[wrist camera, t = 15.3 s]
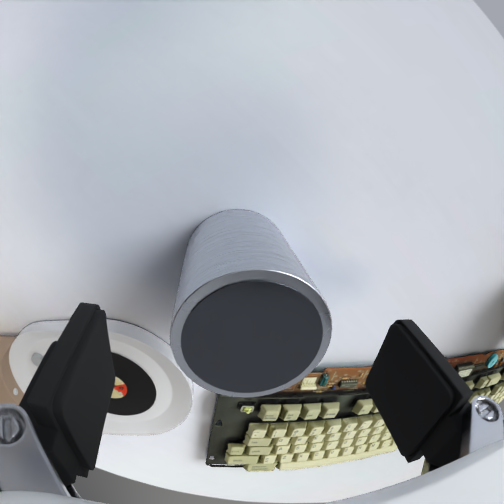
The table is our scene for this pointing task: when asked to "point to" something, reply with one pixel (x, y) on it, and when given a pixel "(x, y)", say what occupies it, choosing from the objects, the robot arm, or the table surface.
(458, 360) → the keyboard
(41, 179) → the table surface
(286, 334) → the steel cup
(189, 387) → the record player
